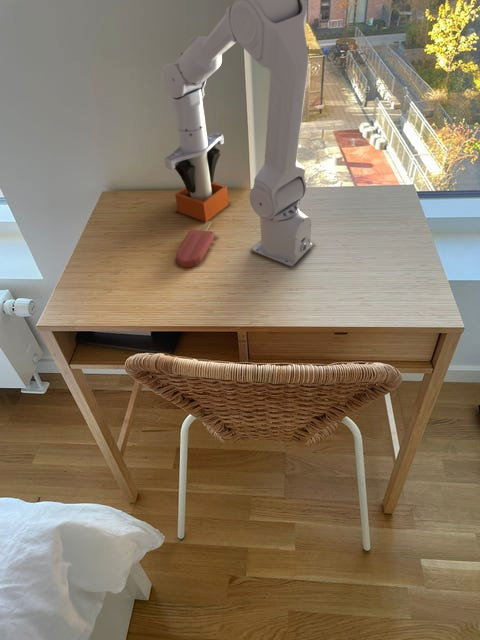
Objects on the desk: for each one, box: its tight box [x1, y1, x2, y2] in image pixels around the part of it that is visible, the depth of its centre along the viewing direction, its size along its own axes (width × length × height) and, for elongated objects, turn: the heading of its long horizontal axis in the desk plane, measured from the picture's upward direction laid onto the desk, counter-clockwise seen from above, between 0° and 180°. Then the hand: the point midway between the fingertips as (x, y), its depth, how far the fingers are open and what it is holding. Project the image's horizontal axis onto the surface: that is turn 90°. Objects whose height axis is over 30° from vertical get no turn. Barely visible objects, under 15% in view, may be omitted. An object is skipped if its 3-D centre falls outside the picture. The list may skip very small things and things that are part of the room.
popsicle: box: [176, 220, 215, 268], centre depth 101 cm, size 5×2×15 cm
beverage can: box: [188, 153, 212, 202], centre depth 105 cm, size 5×5×12 cm
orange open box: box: [174, 181, 229, 223], centre depth 109 cm, size 8×8×5 cm
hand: (200, 186), depth 107 cm, fingers closed on beverage can, 5 cm apart
